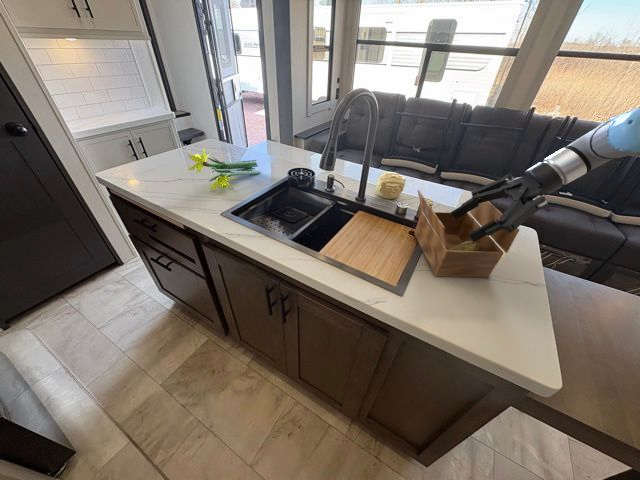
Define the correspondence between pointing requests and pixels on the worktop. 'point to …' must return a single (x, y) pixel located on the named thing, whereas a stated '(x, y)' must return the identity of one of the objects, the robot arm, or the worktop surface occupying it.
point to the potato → (467, 247)
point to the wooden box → (457, 234)
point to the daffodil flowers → (222, 165)
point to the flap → (433, 219)
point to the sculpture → (390, 185)
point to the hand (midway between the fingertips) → (461, 226)
